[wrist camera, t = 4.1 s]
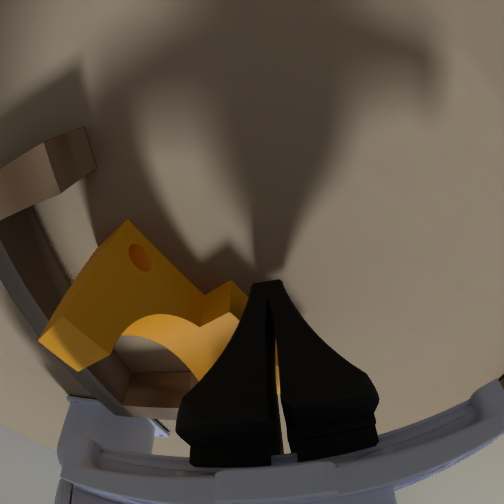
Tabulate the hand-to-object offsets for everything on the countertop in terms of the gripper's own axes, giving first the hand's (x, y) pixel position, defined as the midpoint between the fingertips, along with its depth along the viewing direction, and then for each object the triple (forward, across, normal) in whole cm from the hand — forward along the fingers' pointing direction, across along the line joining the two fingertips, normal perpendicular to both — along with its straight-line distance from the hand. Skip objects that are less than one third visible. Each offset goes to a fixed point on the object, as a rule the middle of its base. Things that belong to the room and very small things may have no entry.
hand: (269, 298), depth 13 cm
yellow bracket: (+2, +4, +1) cm, 4 cm away
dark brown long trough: (+1, +10, 0) cm, 10 cm away
